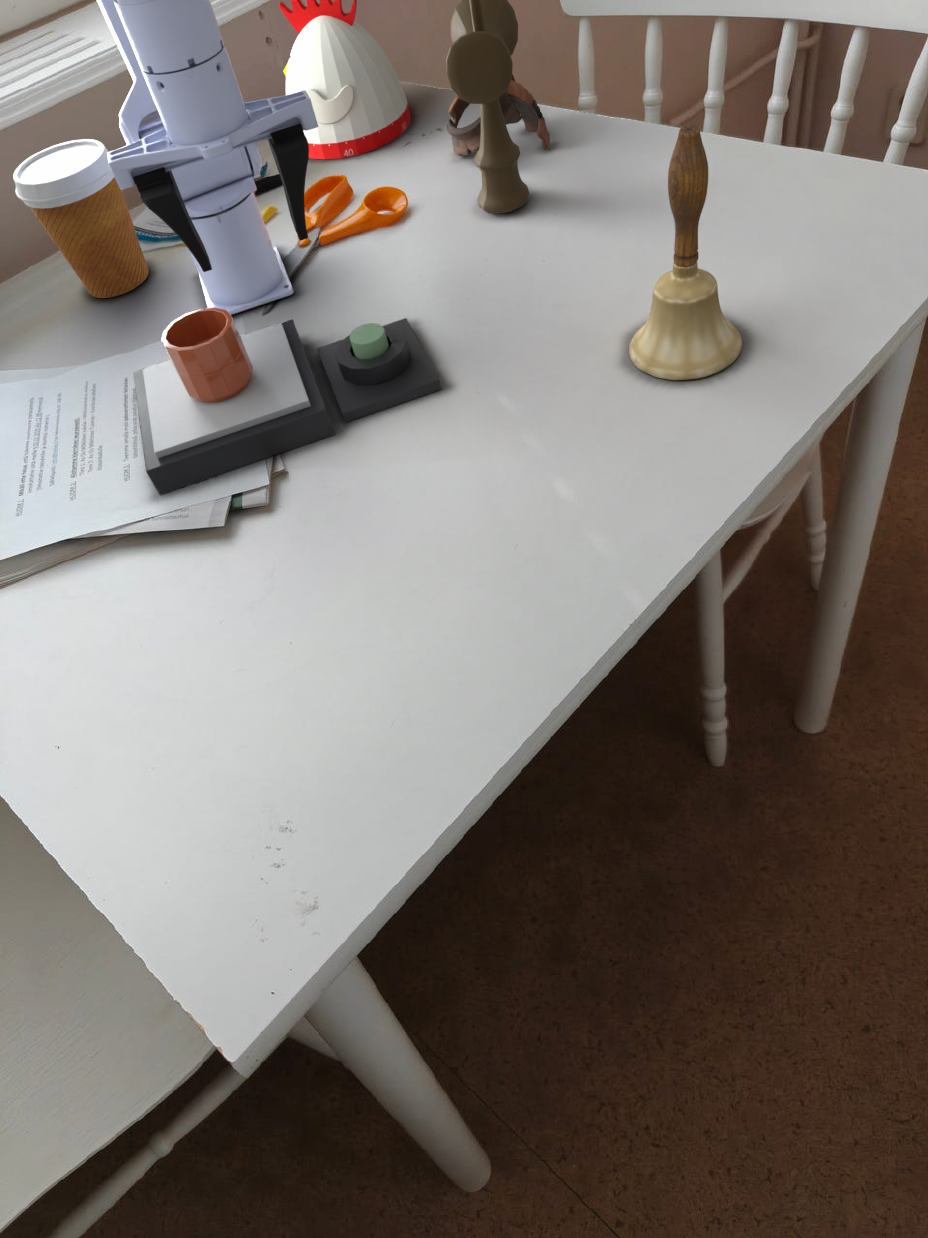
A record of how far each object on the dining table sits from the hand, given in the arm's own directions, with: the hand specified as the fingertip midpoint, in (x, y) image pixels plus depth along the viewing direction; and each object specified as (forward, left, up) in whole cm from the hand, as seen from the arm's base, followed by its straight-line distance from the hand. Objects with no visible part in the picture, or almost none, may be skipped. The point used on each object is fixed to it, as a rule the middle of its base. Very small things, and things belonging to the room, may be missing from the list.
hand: (254, 249), depth 71 cm
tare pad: (+6, +6, -10) cm, 13 cm away
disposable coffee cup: (-24, -14, -10) cm, 30 cm away
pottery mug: (-26, +28, -10) cm, 40 cm away
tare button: (+6, +6, -8) cm, 12 cm away
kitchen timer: (-42, +15, -10) cm, 46 cm away
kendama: (-14, +24, -10) cm, 30 cm away
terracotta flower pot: (+5, -6, -7) cm, 10 cm away
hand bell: (+16, +28, -10) cm, 34 cm away
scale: (+5, -6, -10) cm, 13 cm away
